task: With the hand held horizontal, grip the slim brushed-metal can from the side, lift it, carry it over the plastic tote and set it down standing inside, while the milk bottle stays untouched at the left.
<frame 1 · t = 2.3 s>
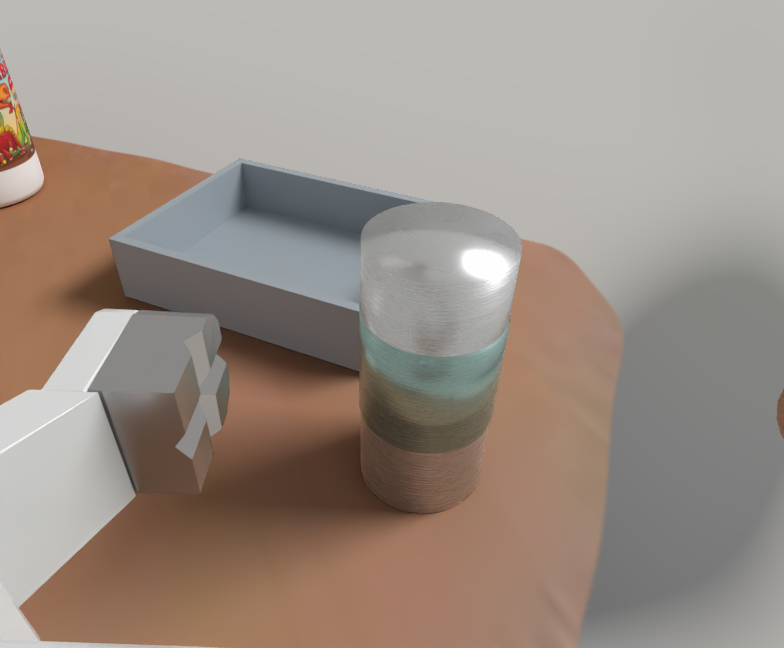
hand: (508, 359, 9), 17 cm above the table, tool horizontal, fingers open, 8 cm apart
tote: (298, 277, 40), on the table
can: (420, 462, 29), on the table
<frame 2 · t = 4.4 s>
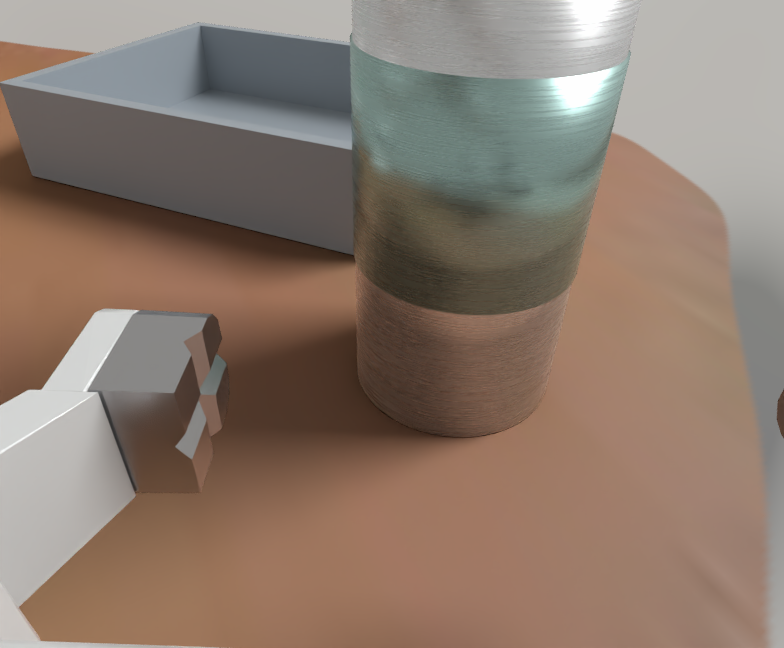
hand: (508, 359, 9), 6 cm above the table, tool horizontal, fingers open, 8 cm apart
tote: (272, 157, 30), on the table
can: (451, 365, 18), on the table
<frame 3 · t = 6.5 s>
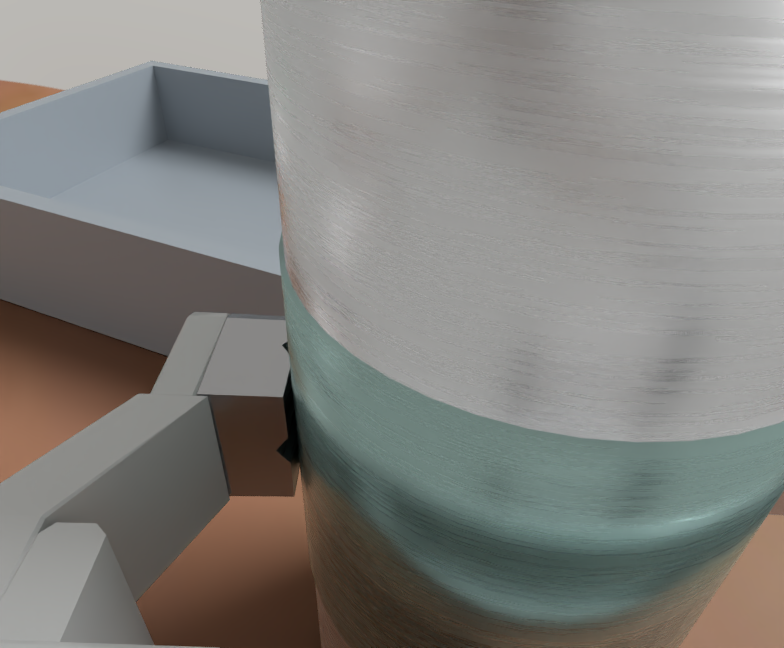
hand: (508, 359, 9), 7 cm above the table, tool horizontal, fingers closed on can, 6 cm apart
tote: (234, 240, 24), on the table
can: (467, 643, 12), on the table, touching gripper
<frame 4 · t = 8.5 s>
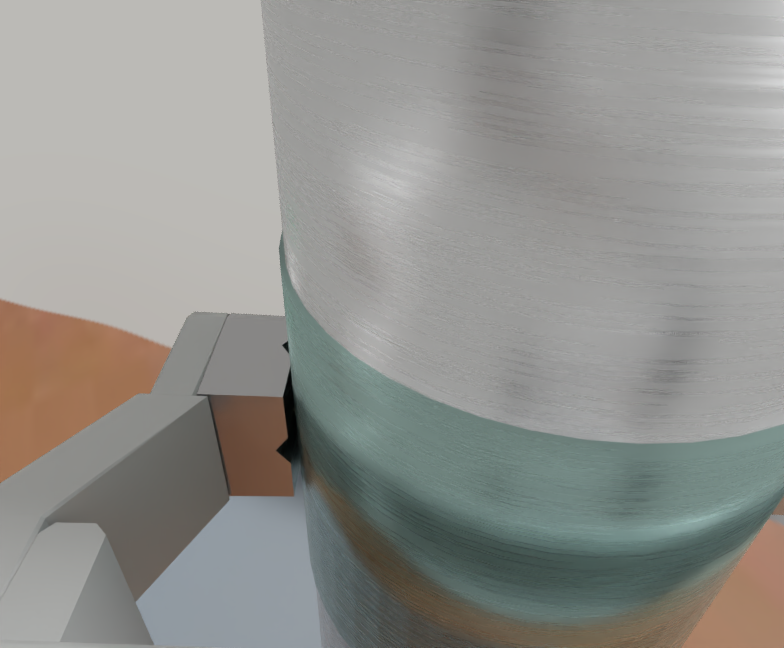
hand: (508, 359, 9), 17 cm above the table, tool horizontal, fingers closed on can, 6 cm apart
tote: (357, 647, 22), on the table
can: (467, 644, 12), point 10 cm above the table, touching gripper
when the fingers open (9 cm above the table, at t = 10.8 s): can drops 1 cm, resting on tote.
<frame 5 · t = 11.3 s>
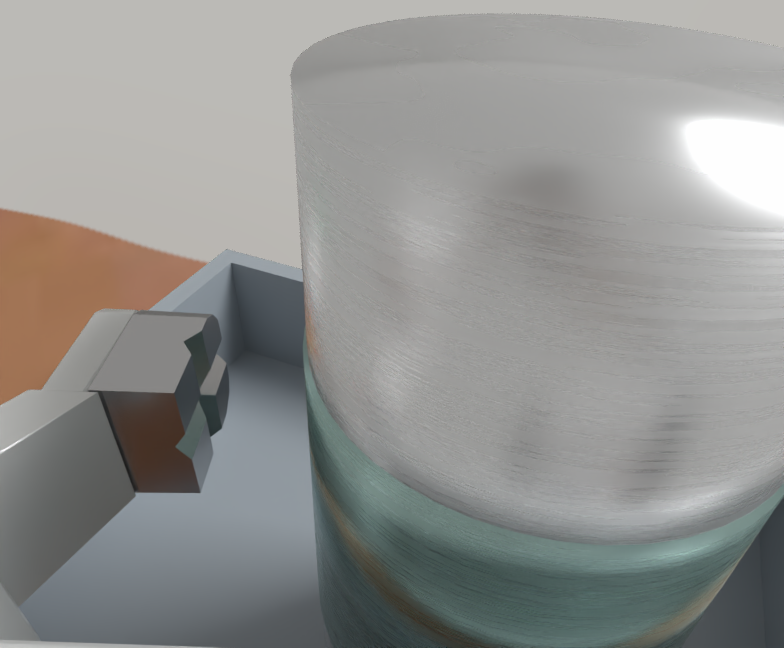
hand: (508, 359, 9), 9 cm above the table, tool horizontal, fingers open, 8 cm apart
tote: (389, 609, 14), on the table
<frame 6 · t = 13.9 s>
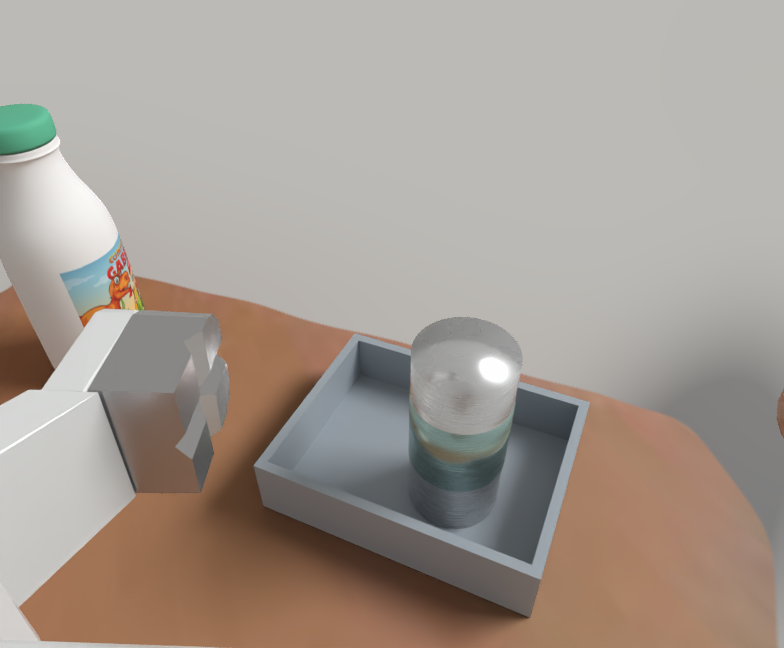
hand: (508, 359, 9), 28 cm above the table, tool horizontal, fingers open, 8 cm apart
tote: (427, 473, 41), on the table
milk bottle: (109, 359, 50), on the table
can: (452, 488, 39), point 1 cm above the table, touching tote
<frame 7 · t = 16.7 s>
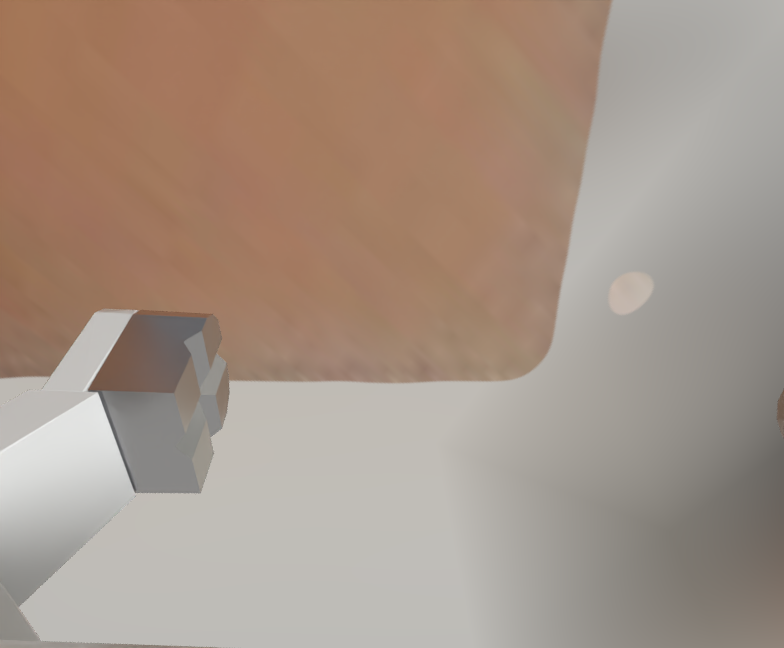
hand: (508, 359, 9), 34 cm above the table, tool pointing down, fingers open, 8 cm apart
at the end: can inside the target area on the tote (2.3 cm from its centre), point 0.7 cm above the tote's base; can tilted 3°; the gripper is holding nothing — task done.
